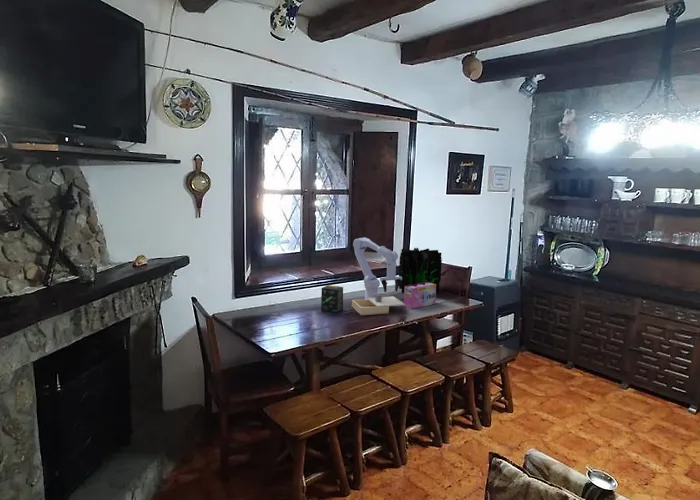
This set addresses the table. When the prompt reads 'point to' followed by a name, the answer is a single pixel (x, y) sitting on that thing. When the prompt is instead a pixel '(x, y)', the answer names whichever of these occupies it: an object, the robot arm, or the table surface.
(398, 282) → the robot arm
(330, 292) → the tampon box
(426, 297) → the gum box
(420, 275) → the decorative plant
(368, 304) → the beige wooden tray
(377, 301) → the lid
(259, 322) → the table surface
